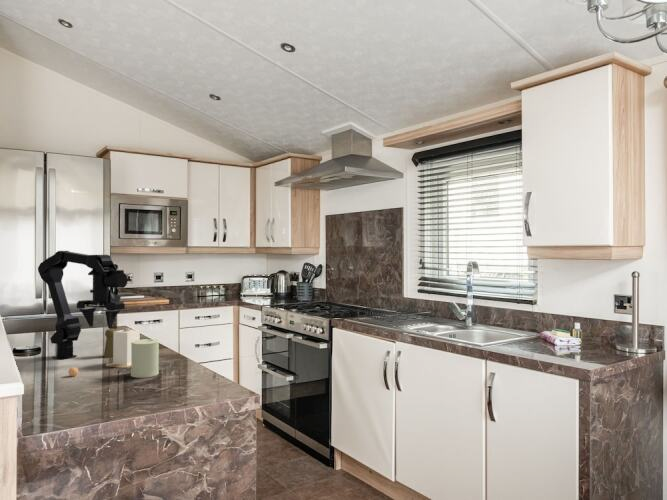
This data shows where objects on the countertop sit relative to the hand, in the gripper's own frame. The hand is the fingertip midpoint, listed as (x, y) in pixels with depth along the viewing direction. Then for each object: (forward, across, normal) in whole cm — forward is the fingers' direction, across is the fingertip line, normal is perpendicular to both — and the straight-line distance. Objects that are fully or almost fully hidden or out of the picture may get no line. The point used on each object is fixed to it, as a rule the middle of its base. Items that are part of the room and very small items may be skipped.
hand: (100, 327), depth 197 cm
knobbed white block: (+12, -13, 0) cm, 18 cm away
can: (+13, -30, +10) cm, 34 cm away
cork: (+13, +2, -9) cm, 16 cm away
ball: (+13, -9, +21) cm, 26 cm away
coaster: (+13, -13, 0) cm, 18 cm away
